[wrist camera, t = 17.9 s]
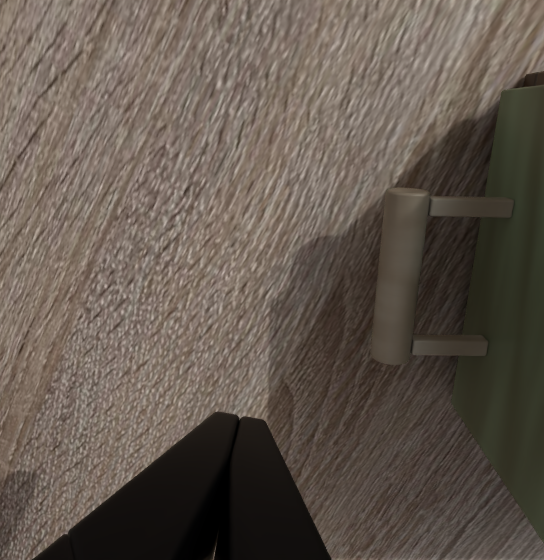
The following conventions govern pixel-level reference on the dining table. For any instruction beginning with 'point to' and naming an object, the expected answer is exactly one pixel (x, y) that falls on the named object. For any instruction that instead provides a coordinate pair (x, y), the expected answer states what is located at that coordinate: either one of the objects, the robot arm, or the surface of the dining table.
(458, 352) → the drawer
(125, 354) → the dining table surface
